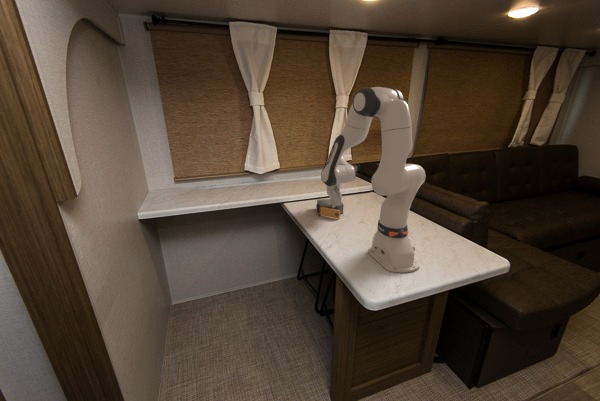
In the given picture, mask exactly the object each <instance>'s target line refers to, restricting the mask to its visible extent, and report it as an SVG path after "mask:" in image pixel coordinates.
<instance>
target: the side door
mask: <svg viewBox="0 0 600 401" xmlns="http://www.w3.org/2000/svg"><path fill="white" fill-rule="evenodd" d="M318 216H320V217H321V216H324V217H328V218H332V219H337V220H340V218H341V214H340V210H335V209H330V208H325V207H319V212H318Z"/></svg>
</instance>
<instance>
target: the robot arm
mask: <svg viewBox="0 0 600 401" xmlns="http://www.w3.org/2000/svg"><path fill="white" fill-rule="evenodd" d="M410 113H411V112H410V108H409V105H408V103H407V102H406V100H404V96H403V94H402V92H401V91H400V90H398V88H393V87H390V88H389V87H382V86H374V87H373V86H372V87H369V86H367V87H362V88H360V89H358V90H357V91H356V92H355V93H354V95H353V98H352V104H351V106H350V107H349V110H348V113H347V118H346V121H345V123H344V127H343V129H342V131H341V132H340V134H339V135H338V136H336V138H335V140H334V141H333V144H332V147H331V149H330V152H329V154H328V158H327V160H326V163H325V165H324V167H323V168H322V171H321V172H320V180H321V181H322V183H323V184H324V185H325V186H326V194H327V195H328V197H329V199H331V206H332V208H335V206H338V205H341V202H342V191H341V189H342V188H343V184H347V183H352V182H354V181H355V178H356V175H357V169H356V168H355V166H354V165H353V164H350V163H349V162H347V160H346V159H345V157H344V156H343V154H344V153H345V152H346V151H347V150H349V149H350V148H352V147H355V146H358V145H359V144H362V142H364V141H365V140H366V138H367V137H368V134H369V131H370V127H371V124H372V120H373V119H374V117H377V118H379V121H380V132H381V156H380V162H379V165H378V167H377V169H376V171H375V172H374V173H373V175H372V176H371V180H370V181H371V182H370V183H371V188H372V190H373V191H374V192H375V194H377V195H378V196H382V197H383V196H385V197H386V198H385V199H384V200H383V201H382V203H381V205H380V213H379V219H378V220H377V221H378V222H377V226H376V228H377V230H376V232H375V233H374V234H373V237H372V243H371V247H370V248H369V249H368V251H367V252H368V253H369V255H370V256H371V257H372V258H373V259H374V260H375V261H377V263H379V264H380V265H381V267H383V268H384V269H385V270H386V271H388V272H392V273H411V272H415V271H417V270H419V269H420V265H419V263H418V261H417V260H416V258H415V251H416V246H415V245H412V242H411V239H410V238H409V236H408V235H409V228H408V218H409V212H410V209H411V206H412V203H413V200H414V199H415V197H416V195H417V193H418V191H419V189H420V187H421V186H422V185H423V184H424V183H425V181H426V177H427V175H426V170H425V169H424V168H423V167H422V166H421V165H419V164H416V163H415V164H414V163H407V159H408V156H409V154H410V153H411V151H412V150H413V127H412V126H413V125H412V117H411V114H410Z"/></svg>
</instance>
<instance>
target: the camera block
mask: <svg viewBox="0 0 600 401" xmlns="http://www.w3.org/2000/svg"><path fill="white" fill-rule="evenodd" d="M344 205H345V204H344V203H343V201H341V205H338V206H335V208H332V206H331V199H330V198H325V199H323V198H322V199H320V198H319V199H316V204H315V208H316V209H315V210H316V212H318V213H319V207H325V208H330V209H335V210H340V215H343V214H344Z"/></svg>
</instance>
